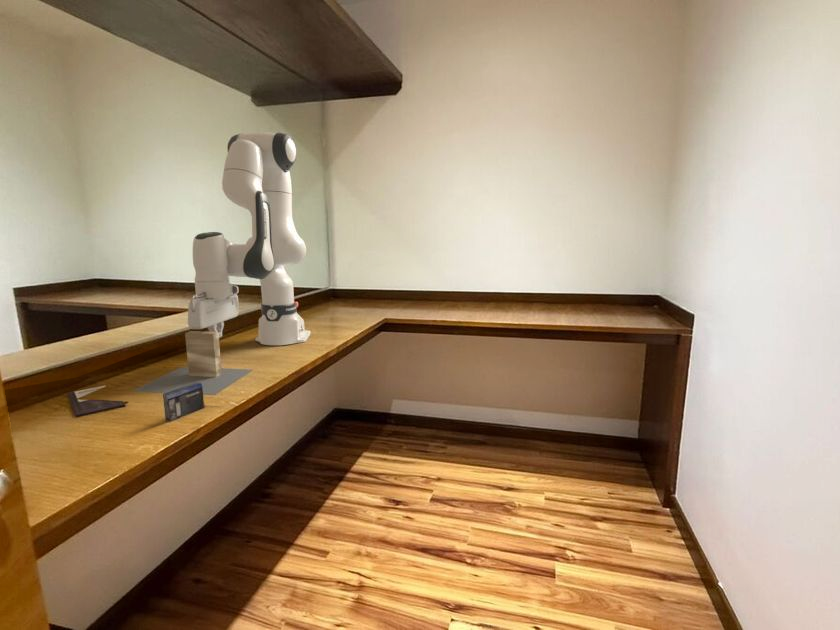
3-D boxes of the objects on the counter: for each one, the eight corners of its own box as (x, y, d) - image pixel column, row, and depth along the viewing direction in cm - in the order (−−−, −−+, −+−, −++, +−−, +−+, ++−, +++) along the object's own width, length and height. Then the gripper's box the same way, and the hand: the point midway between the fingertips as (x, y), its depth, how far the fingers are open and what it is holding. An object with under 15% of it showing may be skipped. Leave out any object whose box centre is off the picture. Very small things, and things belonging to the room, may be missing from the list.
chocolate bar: (75, 415, 93) (67, 392, 106) (76, 419, 94) (67, 396, 106) (125, 404, 99) (111, 384, 112) (125, 408, 100) (112, 387, 112)
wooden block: (195, 372, 122) (191, 330, 120) (222, 373, 121) (218, 331, 119) (189, 375, 119) (184, 333, 117) (216, 376, 118) (213, 334, 116)
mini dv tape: (170, 422, 92) (167, 395, 91) (165, 420, 92) (162, 394, 91) (204, 408, 99) (202, 383, 98) (199, 407, 100) (197, 382, 98)
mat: (182, 368, 127) (181, 366, 127) (254, 371, 125) (253, 369, 125) (130, 393, 107) (130, 391, 107) (215, 397, 105) (215, 394, 105)
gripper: (202, 295, 112) (206, 347, 115) (241, 286, 132) (244, 331, 135) (179, 295, 113) (183, 346, 115) (221, 286, 133) (224, 330, 135)
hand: (216, 338), depth 125 cm, fingers closed
